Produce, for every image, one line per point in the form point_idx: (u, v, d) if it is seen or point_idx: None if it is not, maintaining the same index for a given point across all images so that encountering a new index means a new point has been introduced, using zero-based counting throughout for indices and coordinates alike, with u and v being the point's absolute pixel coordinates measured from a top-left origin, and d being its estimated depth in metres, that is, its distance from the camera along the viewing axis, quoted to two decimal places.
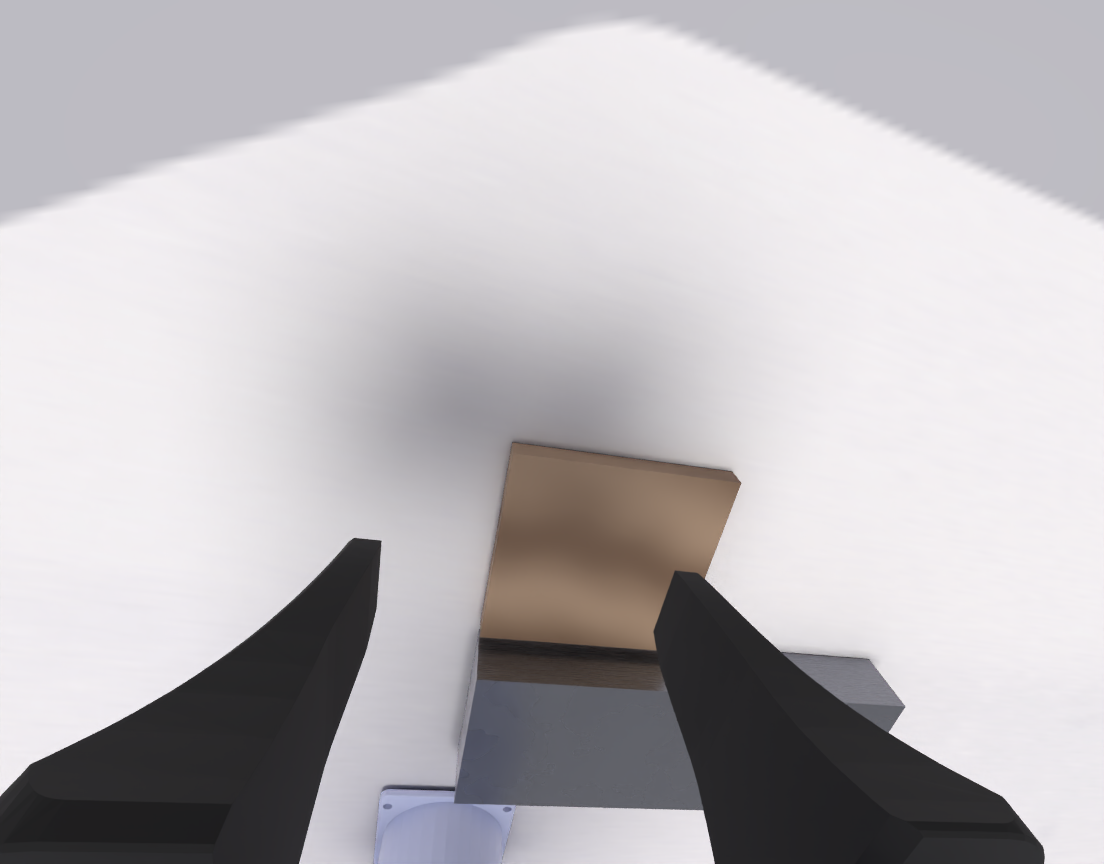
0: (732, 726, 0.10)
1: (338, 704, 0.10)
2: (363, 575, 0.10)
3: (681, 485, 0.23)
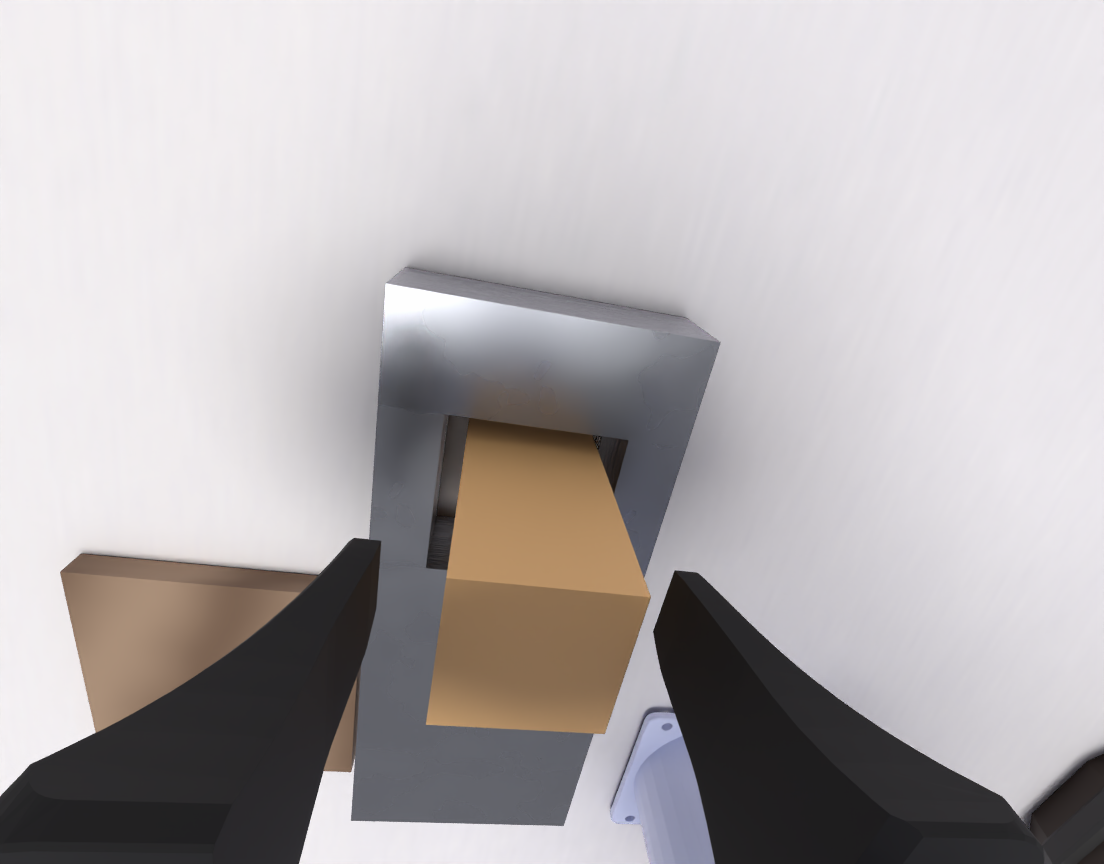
0: (732, 726, 0.10)
1: (338, 704, 0.10)
2: (363, 575, 0.10)
3: (87, 630, 0.19)
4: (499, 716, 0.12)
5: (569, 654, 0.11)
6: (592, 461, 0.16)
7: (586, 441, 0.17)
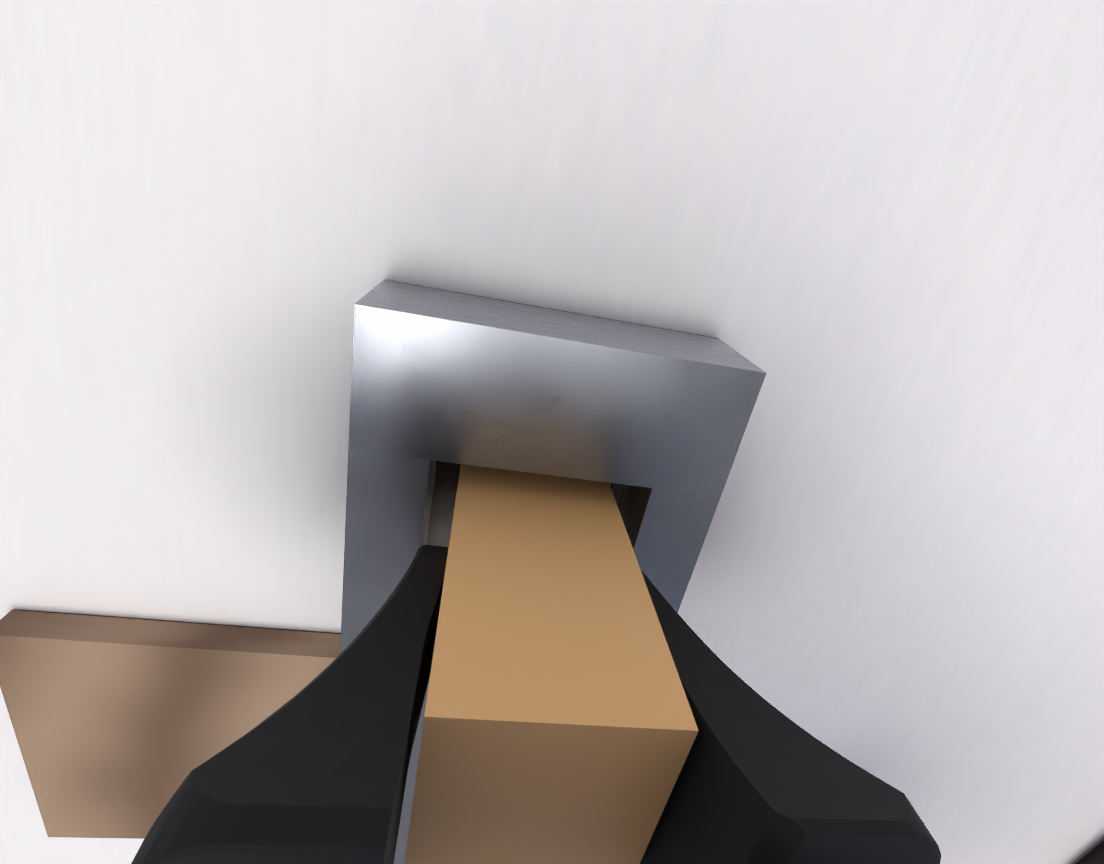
0: None
1: (419, 708, 0.10)
2: (442, 582, 0.11)
3: (21, 697, 0.17)
4: None
5: (589, 798, 0.08)
6: (609, 513, 0.13)
7: (600, 486, 0.14)
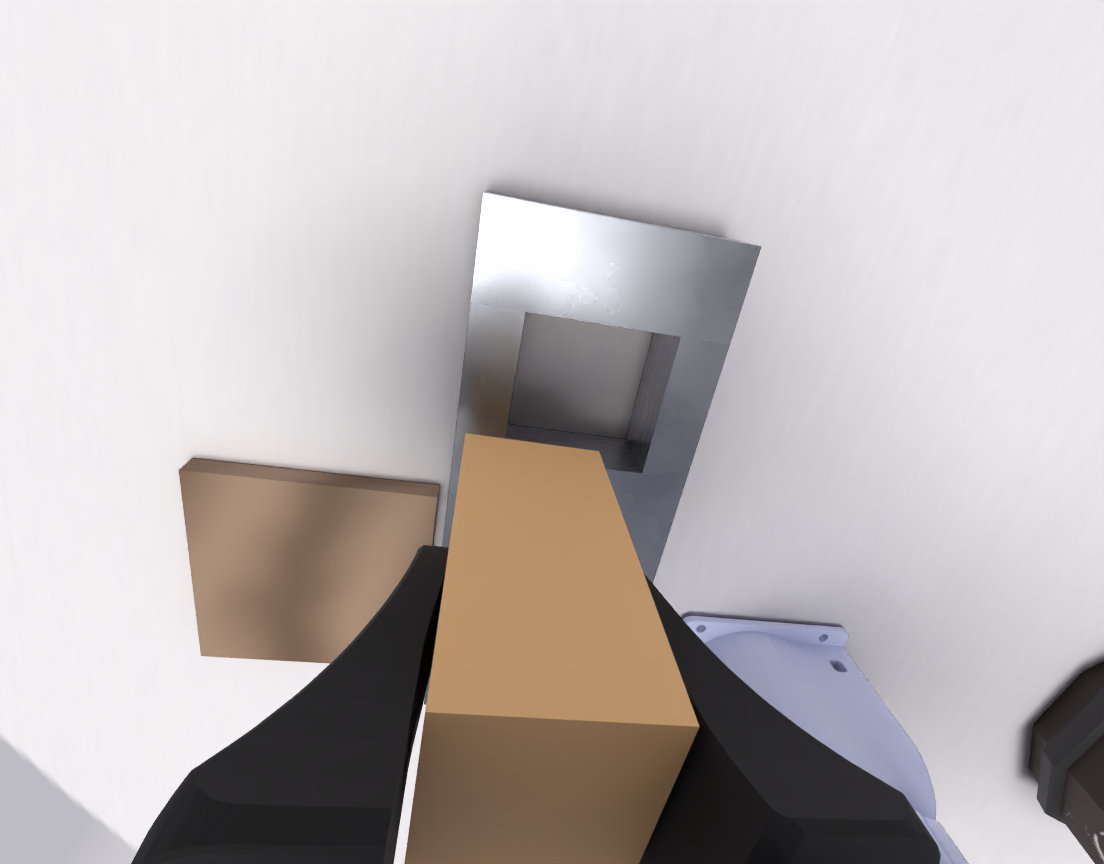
0: None
1: (419, 708, 0.10)
2: (442, 582, 0.11)
3: (198, 526, 0.22)
4: None
5: (589, 794, 0.08)
6: (610, 511, 0.13)
7: (601, 483, 0.14)
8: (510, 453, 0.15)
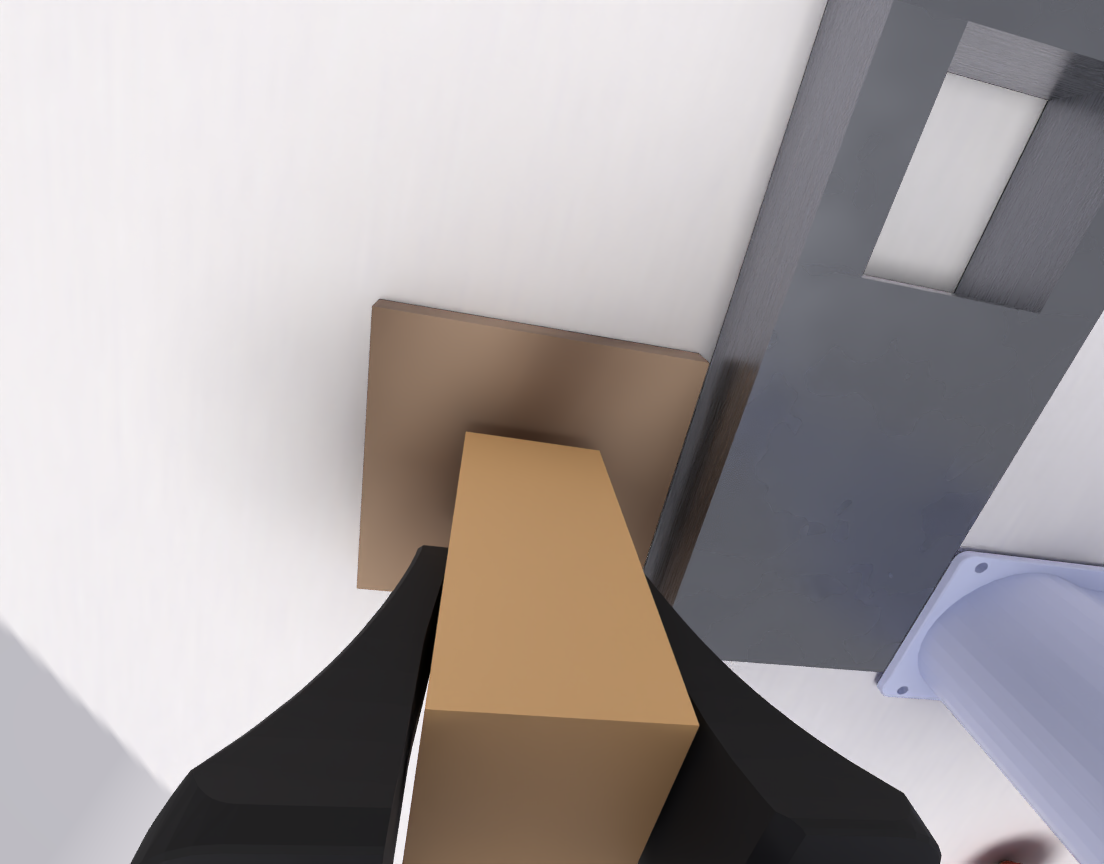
0: None
1: (418, 708, 0.10)
2: (441, 582, 0.11)
3: (384, 395, 0.16)
4: (496, 863, 0.09)
5: (589, 792, 0.08)
6: (610, 510, 0.13)
7: (601, 482, 0.14)
8: (511, 451, 0.15)
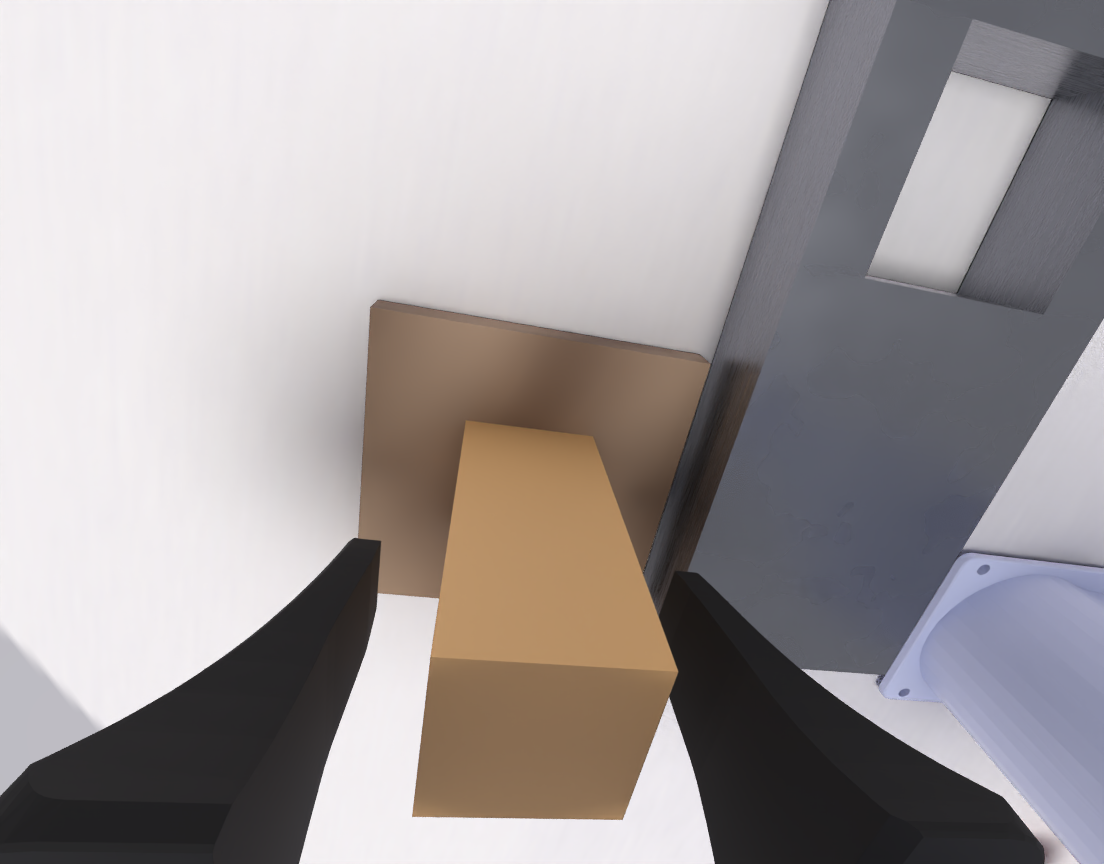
0: (732, 726, 0.10)
1: (338, 704, 0.10)
2: (363, 575, 0.10)
3: (382, 397, 0.16)
4: (498, 805, 0.10)
5: (580, 736, 0.09)
6: (601, 489, 0.14)
7: (594, 465, 0.15)
8: (508, 438, 0.16)
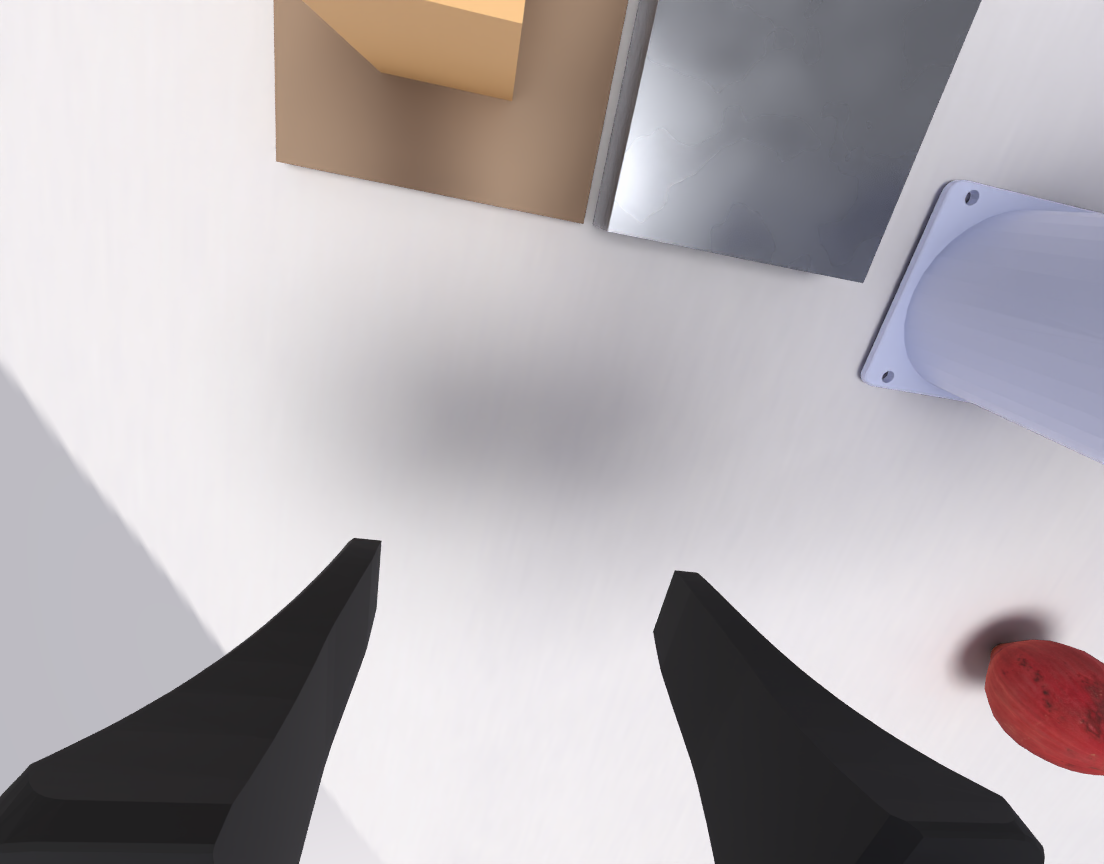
0: (732, 726, 0.10)
1: (338, 704, 0.10)
2: (363, 575, 0.10)
3: None
4: None
5: None
6: None
7: None
8: None
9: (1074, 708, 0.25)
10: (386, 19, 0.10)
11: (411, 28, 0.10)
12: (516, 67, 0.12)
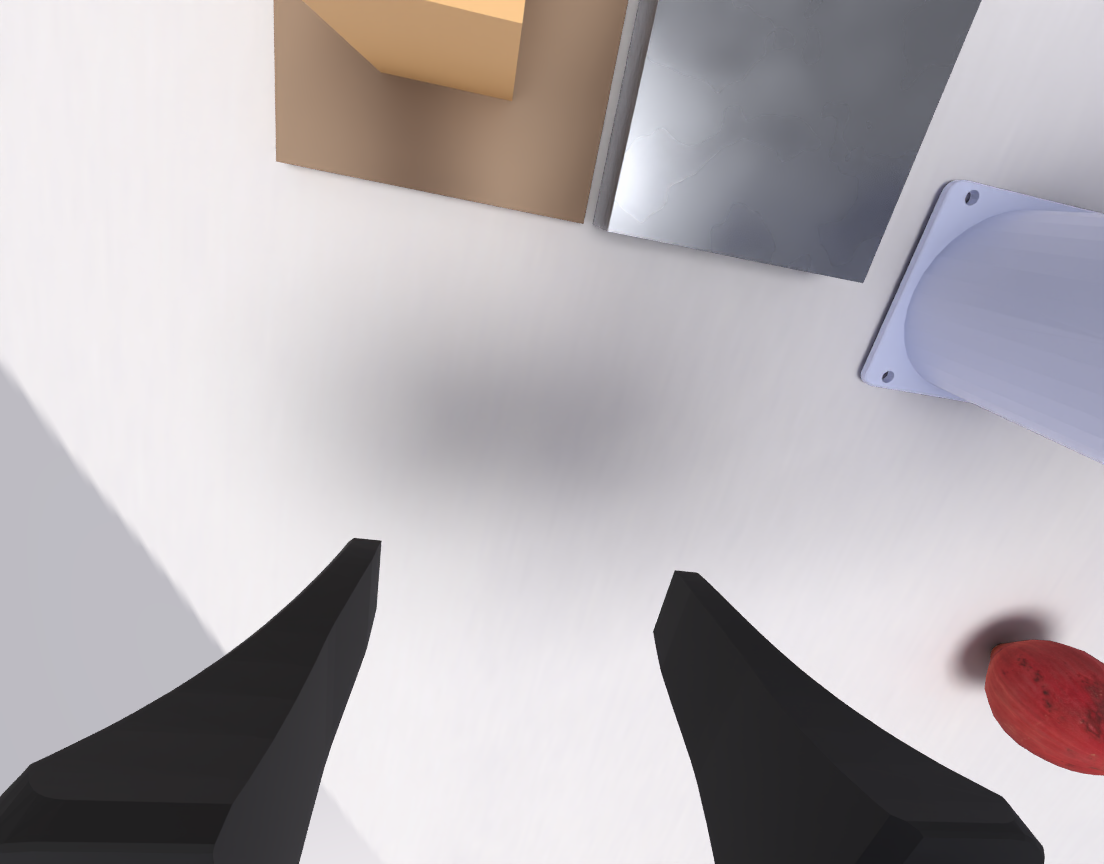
0: (732, 726, 0.10)
1: (338, 704, 0.10)
2: (363, 575, 0.10)
3: None
4: None
5: None
6: None
7: None
8: None
9: (1074, 708, 0.25)
10: (386, 19, 0.10)
11: (411, 28, 0.10)
12: (516, 67, 0.12)
